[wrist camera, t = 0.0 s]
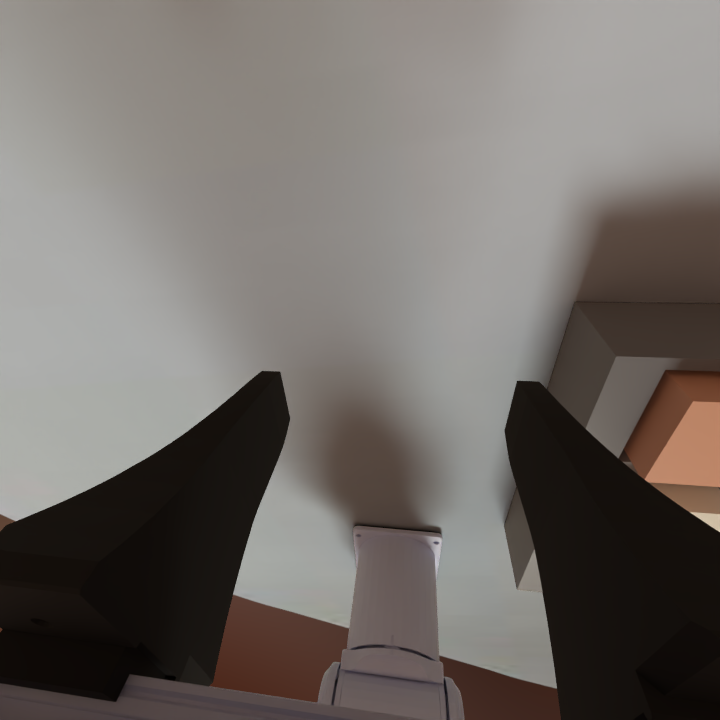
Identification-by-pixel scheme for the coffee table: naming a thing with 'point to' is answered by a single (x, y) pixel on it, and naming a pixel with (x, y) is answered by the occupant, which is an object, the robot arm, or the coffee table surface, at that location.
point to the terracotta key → (679, 431)
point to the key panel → (616, 382)
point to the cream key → (695, 500)
